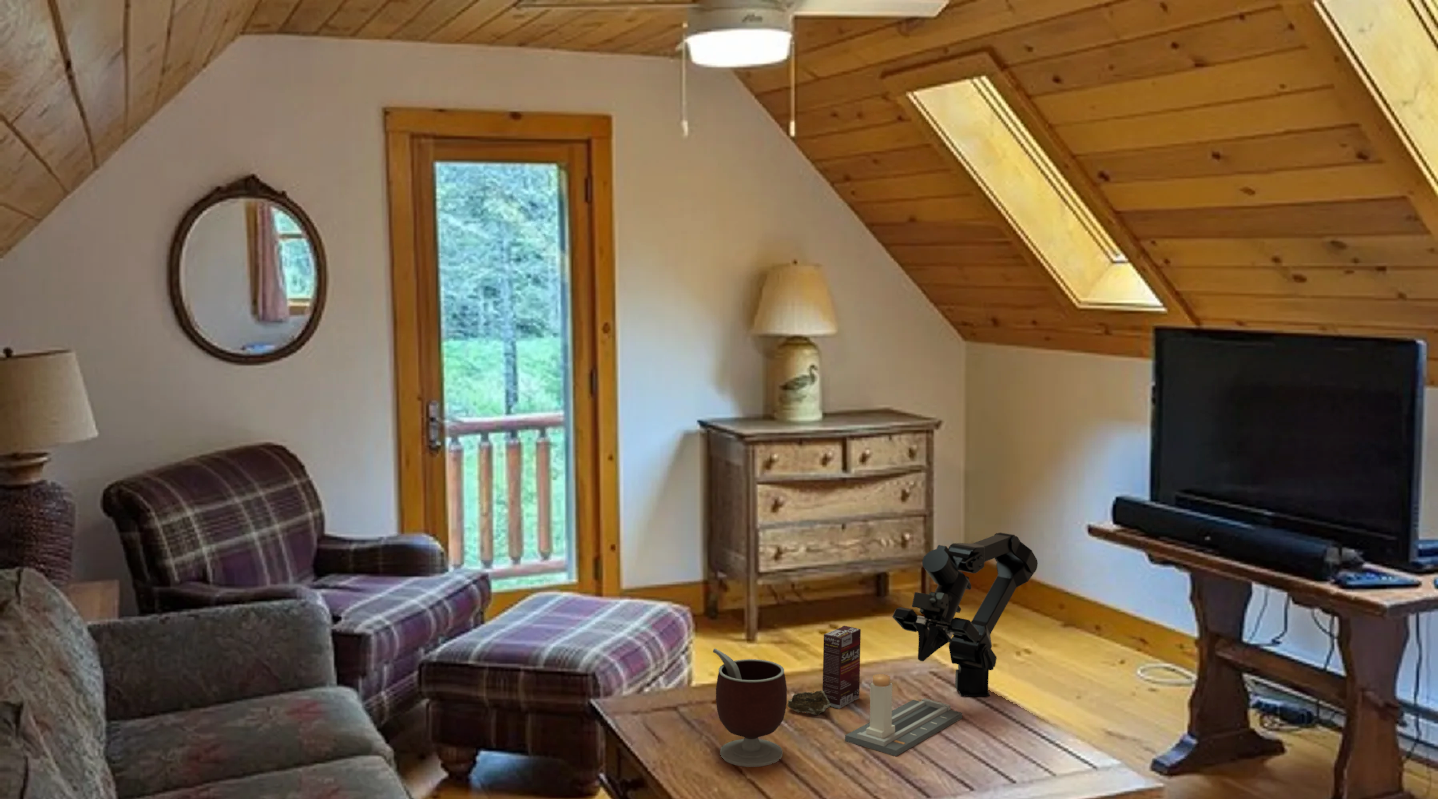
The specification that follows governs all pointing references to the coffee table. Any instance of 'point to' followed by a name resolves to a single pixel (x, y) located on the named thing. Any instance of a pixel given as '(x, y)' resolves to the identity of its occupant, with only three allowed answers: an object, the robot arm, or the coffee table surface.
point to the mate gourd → (750, 708)
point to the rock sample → (809, 702)
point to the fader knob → (881, 707)
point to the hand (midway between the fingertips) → (920, 660)
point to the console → (908, 726)
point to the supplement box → (841, 666)
